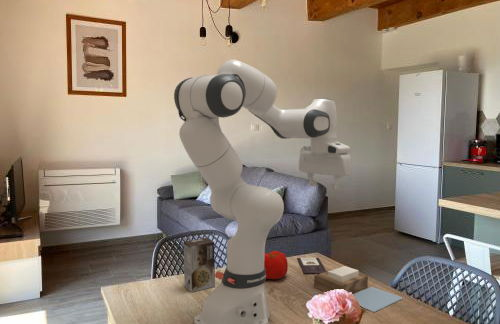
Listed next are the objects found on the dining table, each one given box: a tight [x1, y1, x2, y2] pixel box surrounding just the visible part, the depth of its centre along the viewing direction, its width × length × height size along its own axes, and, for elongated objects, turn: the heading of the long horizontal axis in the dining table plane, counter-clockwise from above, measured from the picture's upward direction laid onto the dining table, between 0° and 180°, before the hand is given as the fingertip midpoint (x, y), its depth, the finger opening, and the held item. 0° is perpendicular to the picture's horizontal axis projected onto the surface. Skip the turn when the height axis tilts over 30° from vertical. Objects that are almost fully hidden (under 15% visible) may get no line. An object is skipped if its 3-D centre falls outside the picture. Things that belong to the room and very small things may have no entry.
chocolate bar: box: [296, 257, 327, 275], centre depth 167 cm, size 9×1×18 cm
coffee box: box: [183, 237, 216, 293], centre depth 145 cm, size 9×6×16 cm
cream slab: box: [327, 265, 360, 282], centre depth 145 cm, size 9×6×2 cm, turn 129°
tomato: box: [264, 250, 289, 280], centre depth 155 cm, size 11×12×9 cm
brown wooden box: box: [313, 266, 369, 294], centre depth 146 cm, size 14×12×4 cm
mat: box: [353, 286, 404, 313], centre depth 136 cm, size 16×12×1 cm
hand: (323, 187), depth 144 cm, fingers open, 8 cm apart
